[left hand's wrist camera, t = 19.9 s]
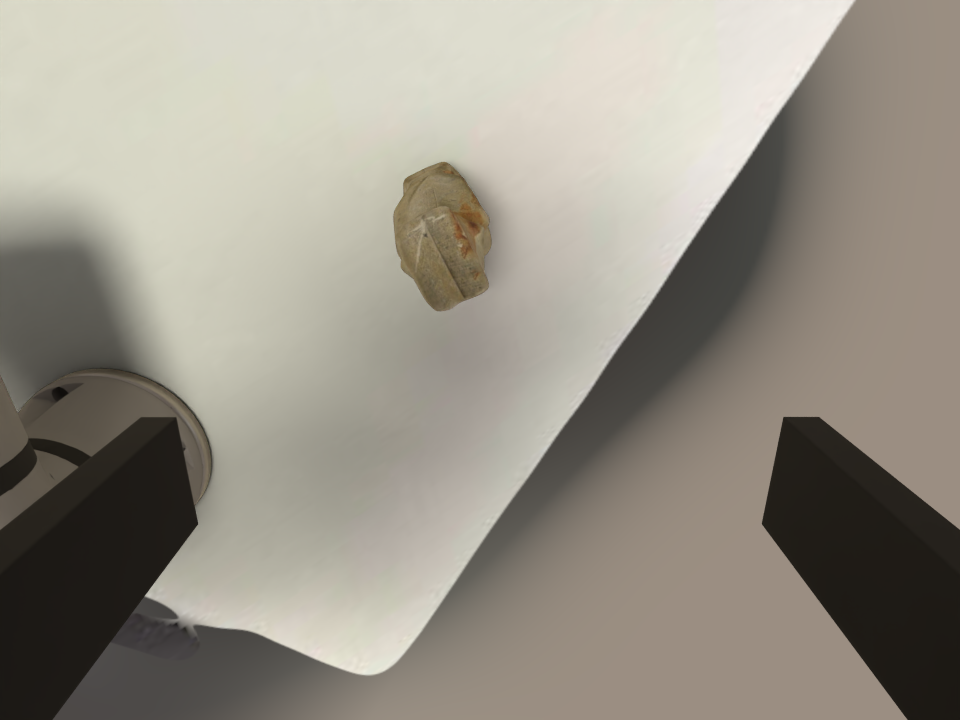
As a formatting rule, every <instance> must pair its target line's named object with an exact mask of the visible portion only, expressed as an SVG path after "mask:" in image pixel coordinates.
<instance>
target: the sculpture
mask: <svg viewBox="0 0 960 720" xmlns="http://www.w3.org/2000/svg"><path fill="white" fill-rule="evenodd" d="M403 189H404V196H403V197H402V199H401V201H400V202H399V204H398V205H397V207H396V209H395V211H394V216H393V218H394V231H395V242H396V248H397V252H398V255H399V257H400V259H401V268H402V270H403V271H404V272H405V273H406V274H408V275H409V276H410V277H412V278H413V279H414V281H415V282H416V284H417V286H418V288H419V290H420V292H421V294H422V295H423V297H424V299H425V300H426V302H427V303H428V304H429V305H430V306H431V307H432V308H433V309H435V310H436V311H445V310H449V309H452V308H453V307H454V306H456V305H457V304H458V303H460V302H462V301H465V300H467V299H470V298H473V297H476V296H478V295H480V294H482V293H483V292H485V291H486V290H487V289H488V287H489V283H488V280H487V277H486V275H485V272H484V256H485V255H486V254H487V253H488V251H489V250H490V247H491V235H490V231H489V228H488V225H489V222H490V220H489V217H488V215H487V214H486V212H485V211H484V210H483V208H482V207H481V205H480V204H479V202H478V200H477V198H476V197H475V195H474V194H473V192H472V190H471V189H470V187H469V186H468V184H467V183H466V181H465V179H464V178H463V177H461V175H460V174H459V173H458V172H457V171H456V170H455V169H454V168H453V167H452V166H451V165H450V164H448V163H447V162H441V163H438V164H435V165H432V166H430V167H427V168H425V169H423V170H421V171H419V172H417V173H415V174H413V175H411V176H409V177H407V178H406V179H405V180H404V183H403Z"/></svg>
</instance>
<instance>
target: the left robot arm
mask: <svg viewBox="0 0 960 720" xmlns="http://www.w3.org/2000/svg"><path fill="white" fill-rule="evenodd" d="M210 473H211V455H210V449H209V445H208V442H207V439H206V436H205V434H204V432H203V430H202V428H201V426H200V424H199V422H198V421H197V419H196V418H195V417H194V415H193V414H192V413H191V411H190V410H189V409H188V408H187V407H186V406H185V405H184V404H183V403H182V402H181V401H180V400H179V399H178V398H177V397H176V396H174V395H173V394H172V393H171V392H169V391H168V390H166V389H165V388H163V387H162V386H160V385H158V384H157V383H155V382H153V381H151V380H149V379H147V378H144V377H142V376H139V375H136V374H133V373H130V372H126V371H121V370H115V369H102V368H100V369H87V370H81V371H77V372H73V373H71V374H68V375H66V376H64V377H61V378H59V379H58V380H56V381H54V382H52V383H50V384H49V385H47V386H45V387H44V388H42V389H41V390H39V391H38V392H37V393H36V394H35V395H34V396H33V397H32V398H31V399H29V400H28V401H27V402H26V404H25V405H24V406H23V407H22V409H21V410H20V411H19V413H17V411H16V409H15V407H14V405H13V402H12V400H11V398H10V396H9V393H8V391H7V389H6V387H5V385H4V382H3V380H2V378H1V376H0V720H53V718H54V717H55V715H56V714H57V713H58V712H59V710H60V709H61V707H62V706H63V705H64V703H65V702H66V701H67V699H68V698H69V697H70V695H71V694H72V693H73V691H74V690H75V689H76V687H77V686H78V685H79V683H80V682H81V681H82V679H83V678H84V677H85V675H86V674H87V673H88V671H89V670H90V669H91V667H92V666H93V664H94V663H95V662H96V661H97V659H98V658H99V656H100V655H101V654H102V652H103V651H104V650H105V648H106V647H107V646H108V644H109V643H110V642H111V640H112V639H113V638H114V636H115V635H116V634H117V632H118V631H119V630H120V628H121V627H122V626H123V624H124V623H125V622H126V620H127V619H128V618H129V616H130V615H131V613H132V612H133V611H134V609H135V608H136V607H137V605H138V604H139V603H140V601H141V600H142V599H143V597H144V596H145V595H146V593H147V592H148V591H149V589H150V588H151V587H152V585H153V584H154V583H155V581H156V580H157V579H158V577H159V576H160V575H161V573H162V572H163V571H164V569H165V568H166V566H167V565H168V564H169V562H170V561H171V560H172V558H173V557H174V556H175V554H176V553H177V552H178V550H179V549H180V548H181V546H182V545H183V544H184V542H185V541H186V540H187V538H188V537H189V536H190V534H191V533H192V532H193V530H194V529H195V528H196V526H197V525H198V521H197V516H196V511H195V505H196V503H197V502H198V501H199V500H200V498H201V497H202V495H203V493H204V492H205V490H206V488H207V485H208V482H209V478H210ZM762 525H763V526H764V528H765V529H766V530H767V532H768V533H769V534H770V536H771V537H772V538H773V540H774V541H775V542H776V544H777V545H778V546H779V548H780V549H781V550H782V552H783V553H784V554H785V556H786V557H787V558H788V560H789V561H790V562H791V564H792V565H793V566H794V568H795V569H796V571H797V572H798V573H799V575H800V576H801V577H802V579H803V580H804V581H805V583H806V584H807V585H808V587H809V588H810V589H811V591H812V592H813V593H814V595H815V596H816V597H817V599H818V600H819V601H820V603H821V604H822V605H823V607H824V608H825V609H826V611H827V612H828V613H829V615H830V616H831V618H832V619H833V620H834V622H835V623H836V624H837V626H838V627H839V628H840V630H841V631H842V632H843V634H844V635H845V636H846V638H847V639H848V640H849V642H850V643H851V644H852V646H853V647H854V648H855V650H856V651H857V652H858V654H859V655H860V656H861V658H862V659H863V661H864V662H865V663H866V665H867V666H868V667H869V669H870V670H871V671H872V672H873V674H874V675H875V677H876V678H877V679H878V681H879V682H880V683H881V685H882V686H883V687H884V689H885V690H886V691H887V693H888V694H889V695H890V697H891V698H892V699H893V701H894V702H895V703H896V705H897V706H898V708H899V709H900V710H901V712H902V713H903V714H904V716H905V717H906V718H907V720H960V530H959V529H958V528H957V527H956V526H954V525H953V524H952V523H951V522H949V521H948V520H947V519H946V518H944V517H943V516H942V515H941V514H939V513H938V512H937V511H936V510H934V509H933V508H932V507H931V506H929V505H928V504H927V503H926V502H924V501H923V500H922V499H921V498H919V497H918V496H917V495H916V494H914V493H913V492H912V491H911V490H909V489H908V488H907V487H906V486H904V485H903V484H902V483H901V482H899V481H898V480H897V479H896V478H894V477H893V476H892V475H891V474H889V473H888V472H887V471H886V470H884V469H883V468H882V467H881V466H879V465H878V464H877V463H876V462H874V461H873V460H872V459H871V458H869V457H868V456H867V455H866V454H864V453H863V452H862V451H861V450H859V449H858V448H857V447H856V446H854V445H853V444H852V443H851V442H849V441H848V440H847V439H846V438H844V437H843V436H842V435H841V434H839V433H838V432H837V431H836V430H834V429H833V428H832V427H831V426H830V425H828V424H827V423H826V422H825V421H823V420H822V419H821V418H820V417H784V418H783V422H782V427H781V432H780V437H779V442H778V447H777V452H776V457H775V461H774V466H773V471H772V476H771V481H770V486H769V491H768V496H767V501H766V506H765V511H764V516H763V521H762Z"/></svg>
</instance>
